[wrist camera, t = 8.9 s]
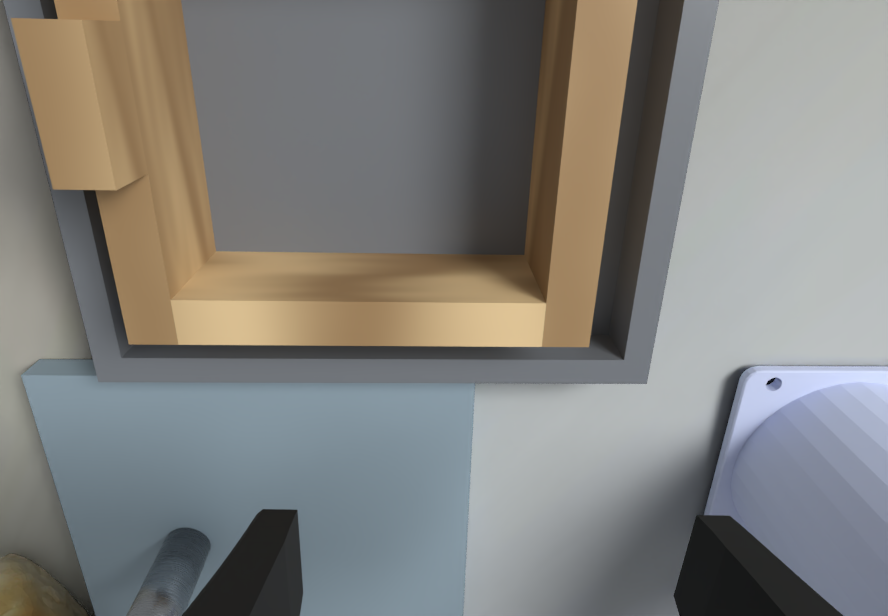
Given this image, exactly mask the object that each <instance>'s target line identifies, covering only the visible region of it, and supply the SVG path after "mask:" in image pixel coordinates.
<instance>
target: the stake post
mask: <svg viewBox="0 0 888 616" xmlns="http://www.w3.org/2000/svg"><path fill="white" fill-rule="evenodd" d="M210 550H211V543H210V541H209V539H208V537H207V536H206V535H205V534H203V533H202V532H200V531H198V530H196V529H193V528H177V529H175V530H173V531H171V532H170V533H169V534H168V535H167V536H166V538H165V540H164V542H163V544H162V546H161V548H160V550H159V552H158V554H157V556H156V558H155V560H154V562H153V564H152V566H151V568H150V570H149V572H148V574H147V576H146V578H145V580H144V582H143V584H142V586H141V588H140V590H139V592H138V594H137V596H136V598H135V600H134V602H133V604H132V606H131V608H130V610H129V611H128V613H127V615H126V616H182V615H183V613H184V612H185V611H186V609H187V606H188V604H189V602H190V599H191V597H192V594H193V592H194V589H195V587H196V584H197V582H198V579H199V577H200V575H201V572H202V570H203V567H204V565H205V562H206V560H207V557H208V555H209V552H210Z"/></svg>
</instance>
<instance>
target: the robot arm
mask: <svg viewBox="0 0 888 616" xmlns="http://www.w3.org/2000/svg"><path fill="white" fill-rule="evenodd" d="M775 377H776V378H775ZM772 378H775V380H774V382H772V383H771V384H768V385H766V384H767V382H768V381H769V380H770V379H772ZM302 598H303V581H302V567H301V553H300V538H299V524H298V510H291V509H262V510H261V511H260V512H259V513H257V514H256V516H255V517H254V519H253V520H252V522H251V523H250V525H249V526H248V528H247V529H246V531H245V532H244V534H243V535H242V537H241V538H240V540H239V541H238V542H237V544H236V545H235V547H234V548H233V549H232V551H231V552H230V554H229V555H228V556H227V558H226V559H225V560H224V562H223V563H222V564H221V566H220V567H219V569H218V570H217V571H216V573H215V574H214V575H213V577H212V578H211V579H210V580H209V582H208V583H207V584H206V585H205V587H204V588H203V589H202V591H201V592H200V593H199V594H198V596H197V597H196V598H195V599H194V601H193V602H192V603H191V605H190V606H189V607H188V608H187V610H186V611H185V612H184V613H183V615H182V616H300V611H301V604H302ZM674 598H675V601H676V605H677V608H678V612H679V615H680V616H888V366H754V367H751V368H749V369H747V370H745V371H744V372H743V373H742V375H741V377H740V379H739V383H738V387H737V390H736V394H735V398H734V402H733V406H732V409H731V413H730V417H729V421H728V425H727V428H726V432H725V436H724V440H723V444H722V447H721V451H720V455H719V459H718V463H717V467H716V470H715V474H714V478H713V482H712V486H711V489H710V493H709V497H708V501H707V505H706V508H705V512H704V515H697V516H696V520H695V523H694V527H693V530H692V534H691V537H690V541H689V544H688V548H687V551H686V555H685V558H684V562H683V565H682V569H681V572H680V576H679V579H678V583H677V586H676V590H675V593H674Z"/></svg>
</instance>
